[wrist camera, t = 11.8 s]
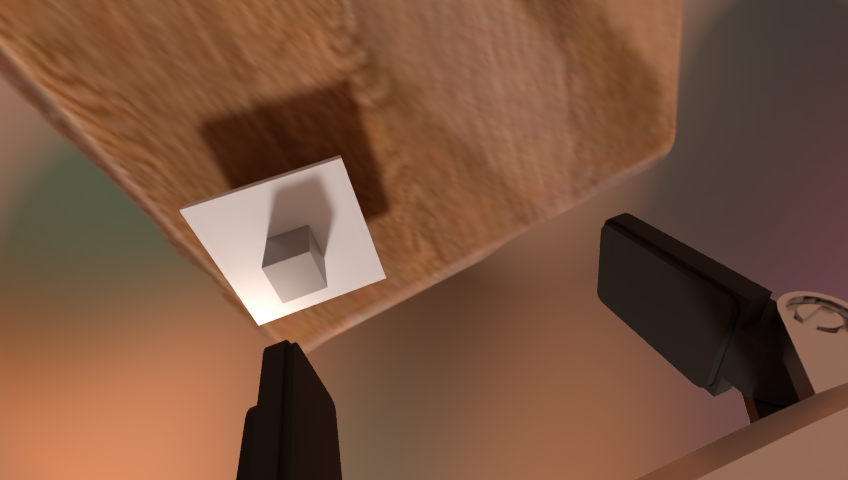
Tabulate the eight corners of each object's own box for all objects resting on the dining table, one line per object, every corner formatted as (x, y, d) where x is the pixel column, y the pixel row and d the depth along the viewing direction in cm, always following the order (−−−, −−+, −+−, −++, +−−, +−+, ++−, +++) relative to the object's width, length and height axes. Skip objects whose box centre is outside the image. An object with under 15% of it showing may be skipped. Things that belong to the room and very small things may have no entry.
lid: (182, 205, 31) (159, 239, 26) (340, 154, 32) (347, 176, 27) (259, 319, 38) (253, 361, 33) (384, 273, 40) (396, 307, 35)
